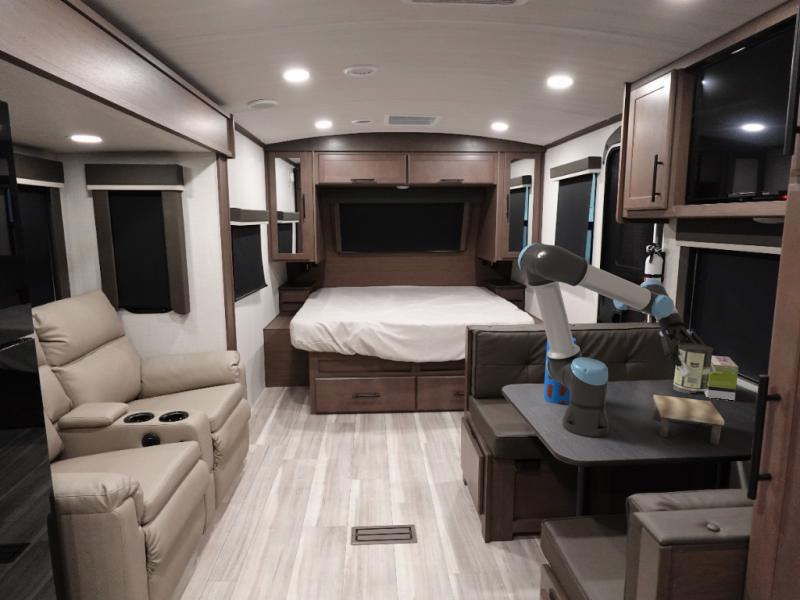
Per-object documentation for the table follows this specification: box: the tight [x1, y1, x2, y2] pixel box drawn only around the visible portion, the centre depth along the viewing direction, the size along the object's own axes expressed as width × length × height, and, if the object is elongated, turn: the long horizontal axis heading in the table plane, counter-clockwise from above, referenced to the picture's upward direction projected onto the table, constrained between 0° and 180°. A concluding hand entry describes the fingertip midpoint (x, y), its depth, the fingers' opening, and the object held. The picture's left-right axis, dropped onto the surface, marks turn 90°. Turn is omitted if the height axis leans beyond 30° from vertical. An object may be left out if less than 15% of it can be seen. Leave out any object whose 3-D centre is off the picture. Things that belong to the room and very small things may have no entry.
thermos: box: [543, 336, 577, 405], centre depth 196 cm, size 11×11×25 cm
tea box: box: [702, 355, 739, 401], centre depth 206 cm, size 15×10×15 cm
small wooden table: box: [652, 394, 725, 446], centre depth 170 cm, size 18×18×8 cm
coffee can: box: [673, 342, 714, 392], centre depth 169 cm, size 10×10×14 cm
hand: (699, 373), depth 166 cm, fingers closed on coffee can, 10 cm apart
